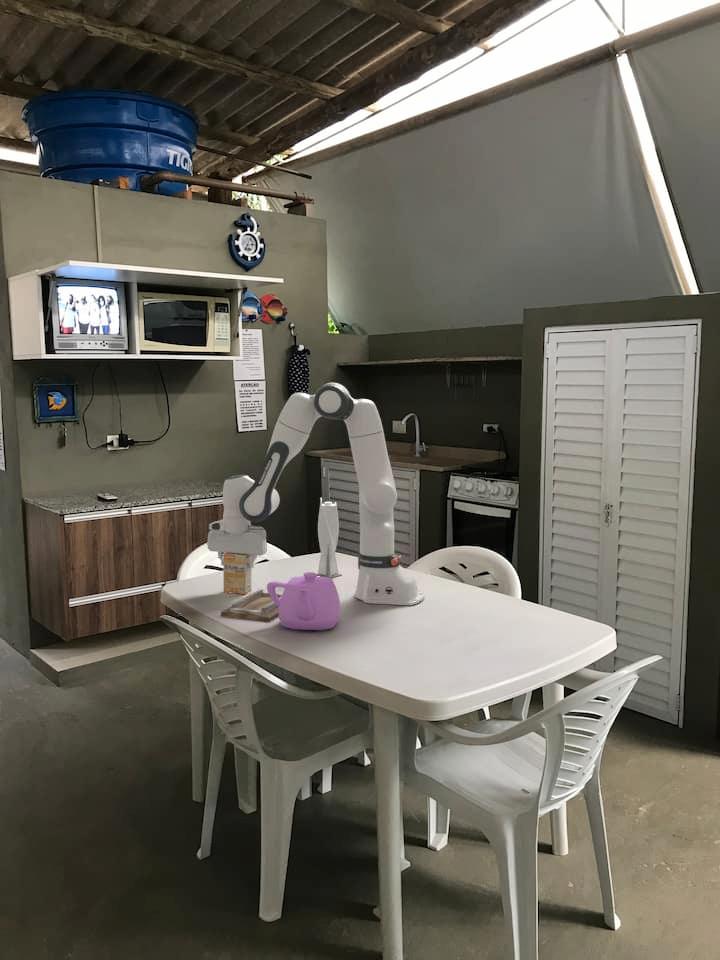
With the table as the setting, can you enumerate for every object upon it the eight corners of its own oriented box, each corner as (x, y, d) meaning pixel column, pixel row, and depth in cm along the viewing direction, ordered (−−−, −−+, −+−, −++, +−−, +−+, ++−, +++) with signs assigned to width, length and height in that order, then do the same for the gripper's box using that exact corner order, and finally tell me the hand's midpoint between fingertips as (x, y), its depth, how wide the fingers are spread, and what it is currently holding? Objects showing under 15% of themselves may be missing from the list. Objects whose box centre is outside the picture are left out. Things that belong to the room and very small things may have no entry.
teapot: (272, 614, 229) (272, 565, 227) (343, 617, 227) (343, 567, 225) (255, 639, 206) (255, 584, 204) (334, 642, 204) (334, 587, 202)
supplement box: (222, 592, 252) (222, 553, 250) (229, 589, 256) (229, 550, 255) (245, 595, 249) (245, 555, 248) (252, 591, 254) (251, 552, 252)
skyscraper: (311, 575, 276) (311, 497, 273) (326, 571, 282) (326, 495, 279) (328, 579, 271) (329, 500, 267) (343, 575, 277) (344, 497, 274)
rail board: (301, 601, 242) (301, 591, 242) (270, 621, 222) (270, 611, 221) (255, 596, 247) (255, 587, 247) (220, 615, 227) (220, 605, 226)
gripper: (270, 525, 250) (270, 567, 251) (214, 521, 256) (215, 561, 258) (261, 528, 244) (261, 571, 245) (204, 524, 250) (205, 565, 252)
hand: (237, 566), depth 252 cm, fingers closed on supplement box, 8 cm apart
